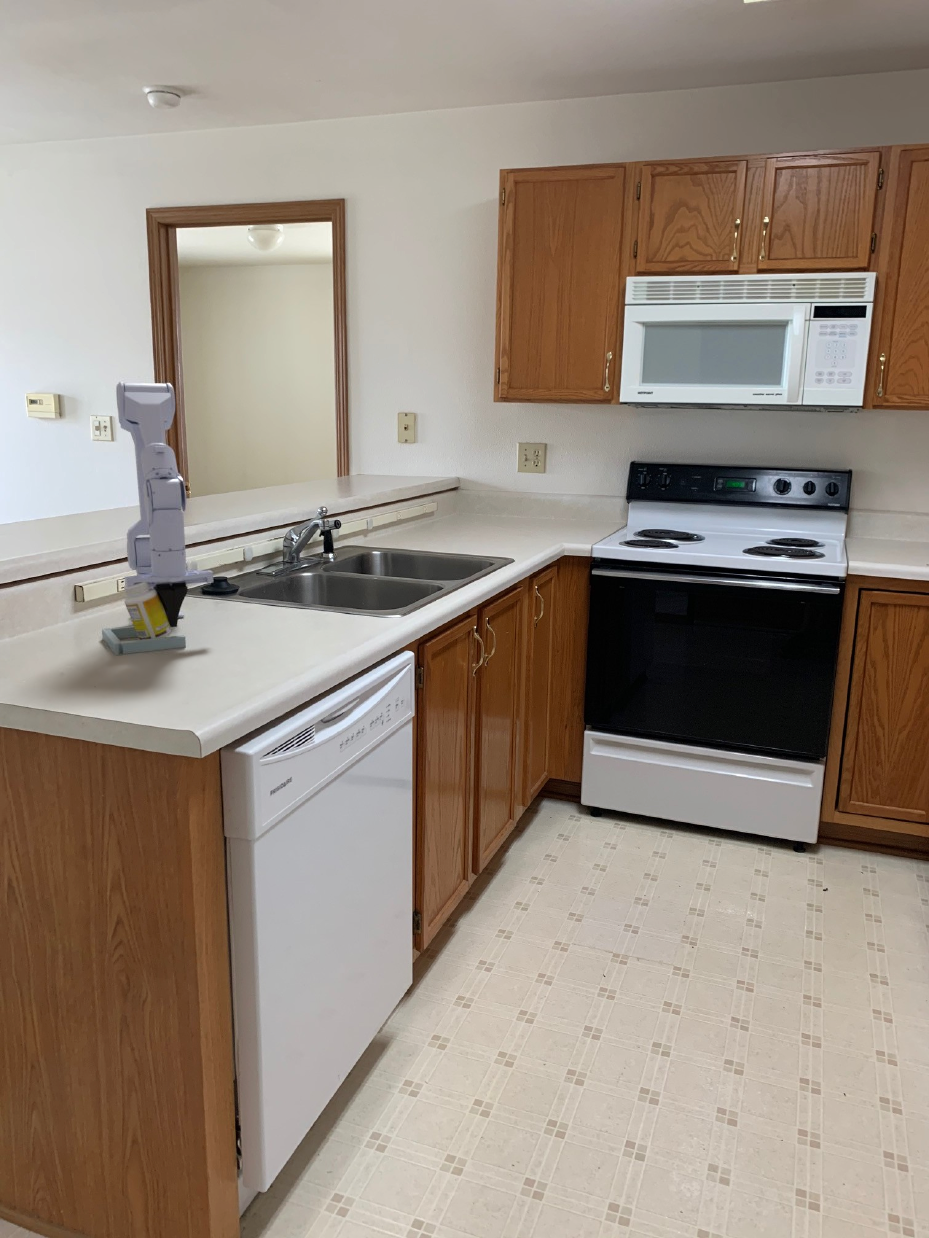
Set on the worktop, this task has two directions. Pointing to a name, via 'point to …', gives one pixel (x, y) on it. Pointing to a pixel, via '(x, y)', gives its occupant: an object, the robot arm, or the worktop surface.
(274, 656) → the worktop surface
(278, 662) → the worktop surface
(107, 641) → the tray
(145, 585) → the supplement bottle
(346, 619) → the worktop surface
